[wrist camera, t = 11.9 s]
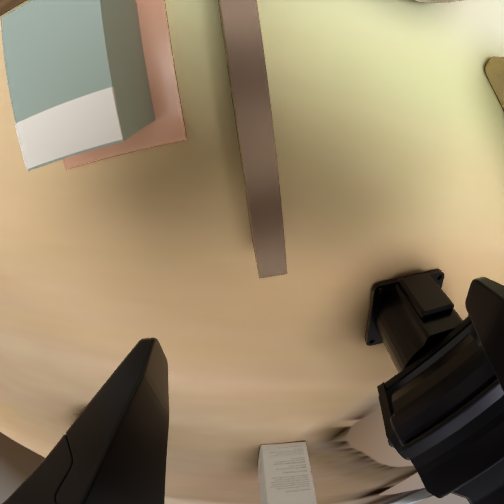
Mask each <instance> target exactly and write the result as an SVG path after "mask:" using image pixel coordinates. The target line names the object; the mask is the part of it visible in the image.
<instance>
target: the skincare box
mask: <svg viewBox="0 0 504 504" xmlns="http://www.w3.org/2000/svg"><path fill="white" fill-rule="evenodd" d="M258 477H259V489H260V500H261V504H317V501H316V495H315V490H314V484H313V479H312V473H311V468H310V463H309V457H308V452H307V446H306V442H293V443H281V444H267V445H261V446H260V452H259V459H258Z"/></svg>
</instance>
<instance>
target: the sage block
mask: <svg viewBox="0 0 504 504" xmlns="http://www.w3.org/2000/svg"><path fill="white" fill-rule="evenodd" d="M1 27H2V40H3V50H4V59H5V67H6V74H7V80H8V86H9V92H10V98H11V103H12V108H13V113H14V118H15V122H16V124H15V128H16V132H17V137H18V141H19V144H20V148H21V152H22V156H23V159H24V163H25V166H26V170H27V169H28V171H30V170H33V169H35V168H38V167H41V166H44V165H47V164H50V163H52V162H55V161H58V160H62V159H65V158H68V157H71V156H74V155H77V154H81V153H84V152H87V151H91V150H94V149H98V148H101V147H105V146H108V145H112V144H116V143H120V142H124V141H125V140H127V139H128V138H129V137H131V136H132V135H134V134H135V133H137V132H138V131H140V130H141V129H143V128H144V127H145V126H147V125H149V124H150V123H152V122H153V121H155V114H154V109H153V104H152V99H151V93H150V87H149V82H148V76H147V70H146V64H145V58H144V52H143V45H142V39H141V32H140V25H139V18H138V10H137V2H136V1H135V0H32V1H30V2H28V3H26V4H25V5H23V6H21V7H19V8H17V9H16V10H14V11H12V12H11V13H9V14H7V15H6V16H4V17H2V18H1Z"/></svg>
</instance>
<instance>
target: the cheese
mask: <svg viewBox="0 0 504 504" xmlns="http://www.w3.org/2000/svg"><path fill="white" fill-rule="evenodd" d="M485 71H486V75H487V77H488V79H489V81H490V83H491V85H492V87H493V89H494V91H495V93H496V95H497V97H498V99H499V101H500V103H501V105H502V107H503V109H504V58H503V57H492V58H491V59H490V60H489V62H488V63H487V65H486V67H485Z"/></svg>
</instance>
